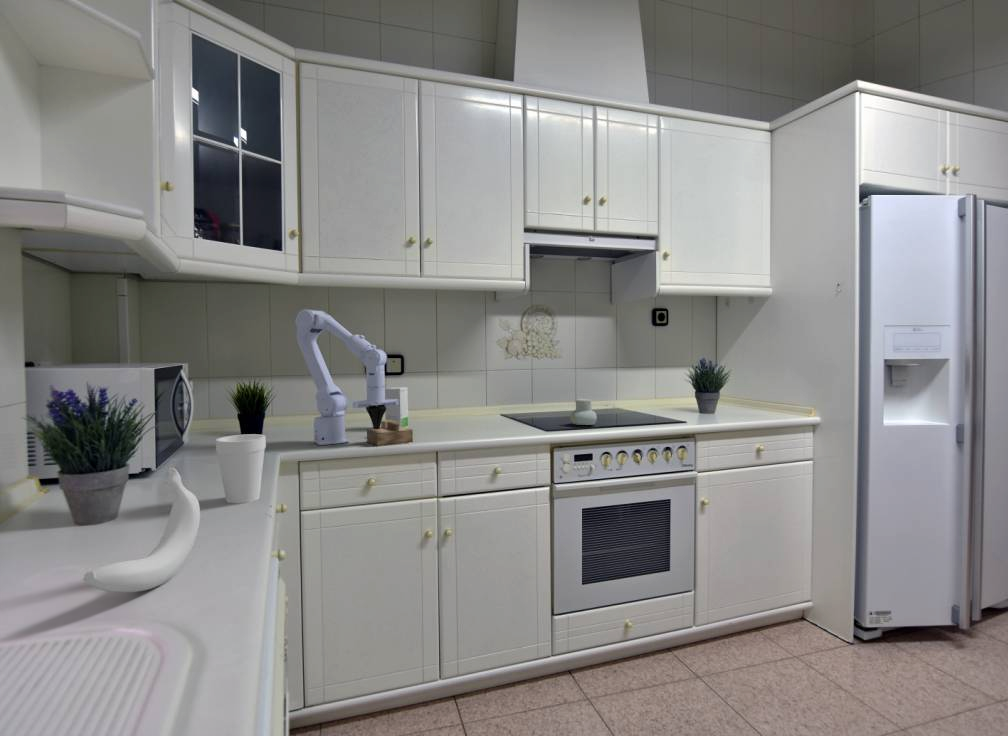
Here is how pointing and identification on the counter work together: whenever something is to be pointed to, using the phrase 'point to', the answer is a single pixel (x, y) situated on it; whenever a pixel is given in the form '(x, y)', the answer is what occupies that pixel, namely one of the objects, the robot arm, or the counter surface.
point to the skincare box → (397, 406)
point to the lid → (390, 428)
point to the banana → (166, 553)
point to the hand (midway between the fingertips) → (376, 428)
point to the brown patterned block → (384, 423)
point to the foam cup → (241, 466)
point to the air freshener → (583, 413)
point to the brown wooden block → (389, 437)
